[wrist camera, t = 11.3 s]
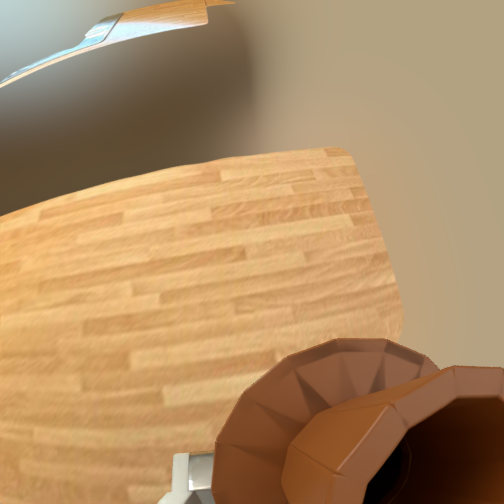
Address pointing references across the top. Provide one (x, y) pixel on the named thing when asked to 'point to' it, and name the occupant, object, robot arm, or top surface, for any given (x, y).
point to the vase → (364, 431)
